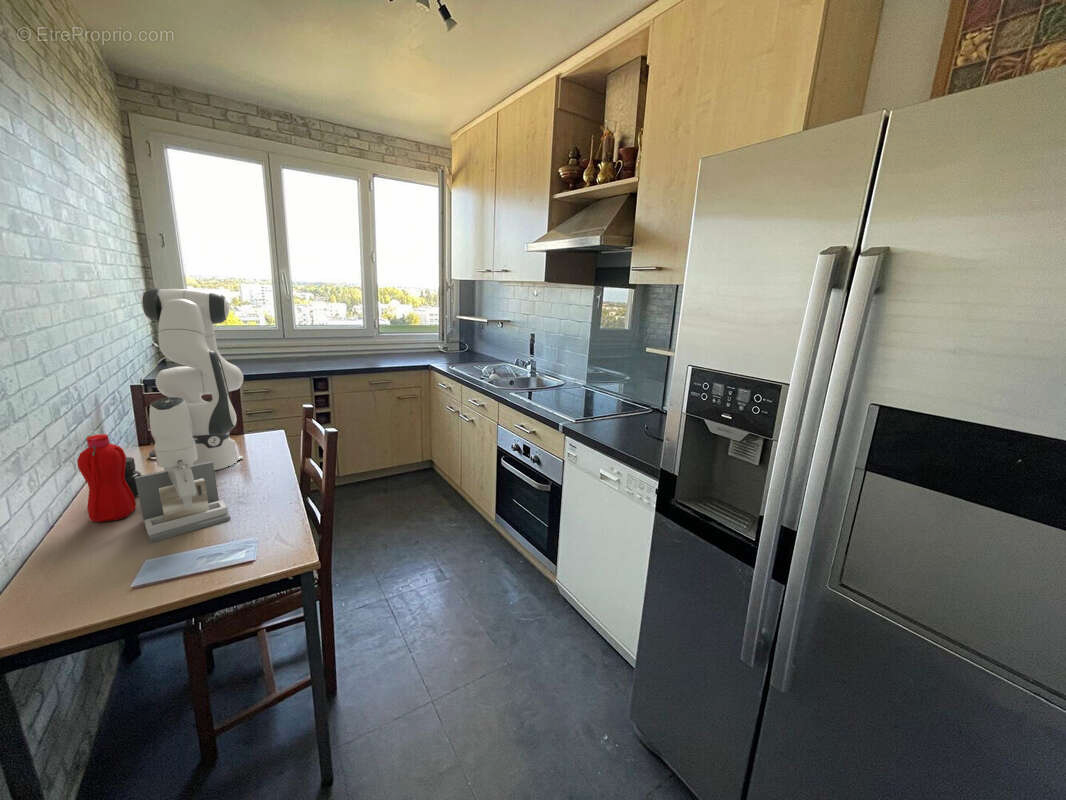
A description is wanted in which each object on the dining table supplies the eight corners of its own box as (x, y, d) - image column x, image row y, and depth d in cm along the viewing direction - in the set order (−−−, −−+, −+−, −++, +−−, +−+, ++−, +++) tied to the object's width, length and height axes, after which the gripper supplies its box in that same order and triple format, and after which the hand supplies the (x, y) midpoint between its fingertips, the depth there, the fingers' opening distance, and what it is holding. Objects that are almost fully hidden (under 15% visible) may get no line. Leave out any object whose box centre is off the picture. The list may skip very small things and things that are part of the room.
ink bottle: (107, 494, 141) (100, 460, 139) (143, 486, 147) (137, 453, 145) (108, 504, 135) (100, 468, 132) (145, 496, 141) (139, 461, 138)
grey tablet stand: (143, 521, 125) (134, 476, 122) (218, 502, 138) (211, 461, 135) (150, 542, 115) (140, 494, 112) (230, 519, 128) (223, 475, 124)
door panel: (165, 524, 122) (158, 488, 120) (208, 512, 129) (202, 478, 127) (166, 527, 120) (159, 491, 118) (210, 515, 127) (204, 481, 125)
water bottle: (82, 528, 121) (62, 444, 115) (101, 511, 131) (84, 432, 125) (124, 522, 124) (107, 440, 119) (140, 506, 134) (125, 429, 128)
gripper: (198, 463, 116) (206, 510, 119) (184, 444, 129) (192, 487, 132) (168, 469, 111) (177, 518, 114) (157, 449, 125) (165, 493, 128)
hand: (185, 501), depth 123 cm, fingers open, 8 cm apart
